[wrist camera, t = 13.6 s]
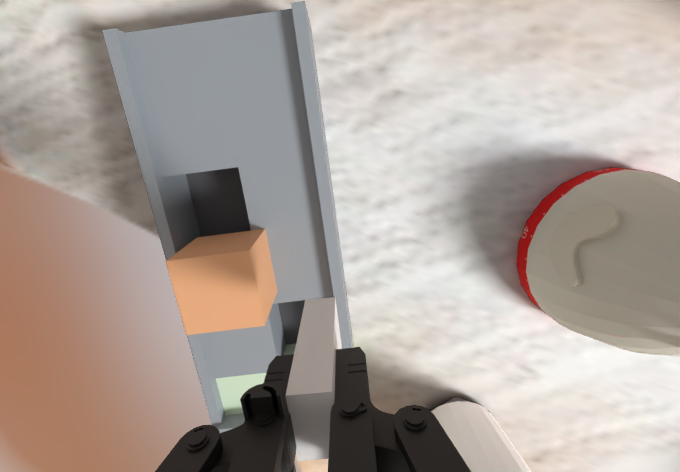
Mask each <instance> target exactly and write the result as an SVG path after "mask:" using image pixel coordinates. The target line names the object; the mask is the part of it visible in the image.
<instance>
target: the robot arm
mask: <svg viewBox="0 0 680 472" xmlns="http://www.w3.org/2000/svg"><path fill="white" fill-rule="evenodd" d="M240 401H241V405H242V409H243V414H244V418H245V421H244V423H243V424H242V425H240V426H238V427H236V428H233V429H231V430H228V431H225V432H222V433H220V432H219V430H218V429H217V428H216V427H215V426H212V425H202V426H199V427H196V428H194V429H192V430H190V431H189V432H187V433H186V434H185V435H184V436H183V437H182V438H181V439H180V440H179V442H178V443H177V444H176V445H175V447H174V448H173V449H172V450H171V452H170V453H169V455H168V456H167V457H166V458H165V460H164V461H163V462H162V463H161V465H160V466H159V467H158V469H157V470H156V471H155V472H296V469H295V464H294V461H295V454H296V453H297V458H298V461H305V460H317V459H328V458H329V460H328V472H471V470H470V469H469V467H468V466H467V464H466V463H465V461H464V460H463V458H462V456H461V455H460V453H459V452H458V450H457V449H456V447H455V446H454V444H453V443H452V441H451V440H450V438H449V437H448V435H447V434H446V432H445V430H444V429H443V427H442V426H441V424H440V423H439V421H438V420H437V418H436V417H435V415H434V414H433V413H432V412H431V411H430V410H428V409H426V408H424V407H422V406H416V405H412V406H406V407H404V408H401V409H400V410H399V411H398V412H397V413H396V414H395V415H393V414H388V413H384V412H382V411H380V410H378V409H377V408H375V407H374V406H373V404H372V403H371V401H370V394H369V385H368V376H367V366H366V357H365V353H364V352H363V351H362V350H361V348H360V347H355V348H345V349H342V344H341V337H340V329H339V321H338V314H337V306H336V298H335V297H330V298H320V299H310V300H305V304H304V308H303V313H302V318H301V323H300V328H299V333H298V337H297V342H296V347H295V352H294V354H291V355H281V356H276V357H275V358H274V359H273V360H272V361H271V363H270V364H269V366H268V369H267V372H266V376H265V379H264V382H263V384H259V385H256V386H254V387H252V388H250V389H248V390H247V391H246V392H245V393H244V394H243V395H242V397H241V399H240Z"/></svg>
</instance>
